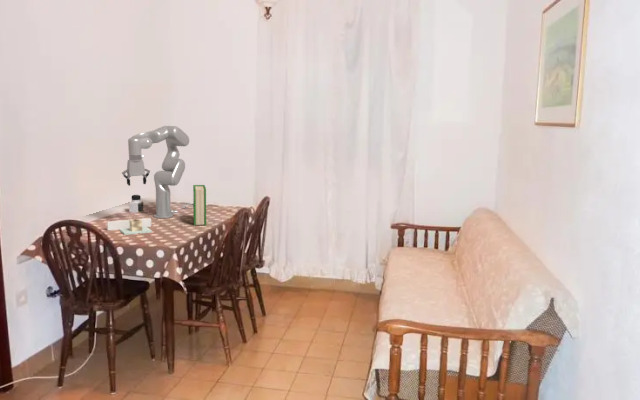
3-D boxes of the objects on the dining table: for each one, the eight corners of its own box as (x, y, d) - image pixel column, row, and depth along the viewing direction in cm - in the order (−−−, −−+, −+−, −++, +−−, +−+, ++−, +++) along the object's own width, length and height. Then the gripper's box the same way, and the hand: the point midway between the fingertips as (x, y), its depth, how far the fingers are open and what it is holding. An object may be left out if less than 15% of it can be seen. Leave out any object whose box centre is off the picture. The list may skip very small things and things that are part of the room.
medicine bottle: (138, 212, 381) (137, 196, 379) (129, 212, 383) (128, 195, 381) (143, 211, 388) (143, 194, 386) (134, 210, 390) (134, 194, 388)
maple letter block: (139, 228, 329) (139, 218, 328) (142, 230, 324) (142, 220, 323) (129, 229, 325) (129, 219, 324) (132, 231, 320) (131, 221, 320)
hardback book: (206, 225, 347) (205, 188, 343) (194, 225, 345) (194, 188, 341) (204, 220, 364) (204, 185, 360) (193, 220, 362) (193, 185, 358)
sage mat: (146, 228, 334) (146, 226, 334) (152, 232, 324) (152, 230, 324) (119, 230, 325) (119, 229, 325) (124, 234, 315) (124, 233, 315)
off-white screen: (150, 225, 341) (150, 218, 340) (151, 226, 339) (151, 218, 339) (107, 229, 327) (107, 221, 326) (108, 230, 325) (107, 222, 325)
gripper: (147, 156, 346) (148, 182, 349) (119, 157, 336) (121, 184, 340) (151, 157, 340) (152, 184, 343) (122, 159, 330) (124, 186, 334)
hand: (136, 184), depth 341 cm, fingers open, 9 cm apart
